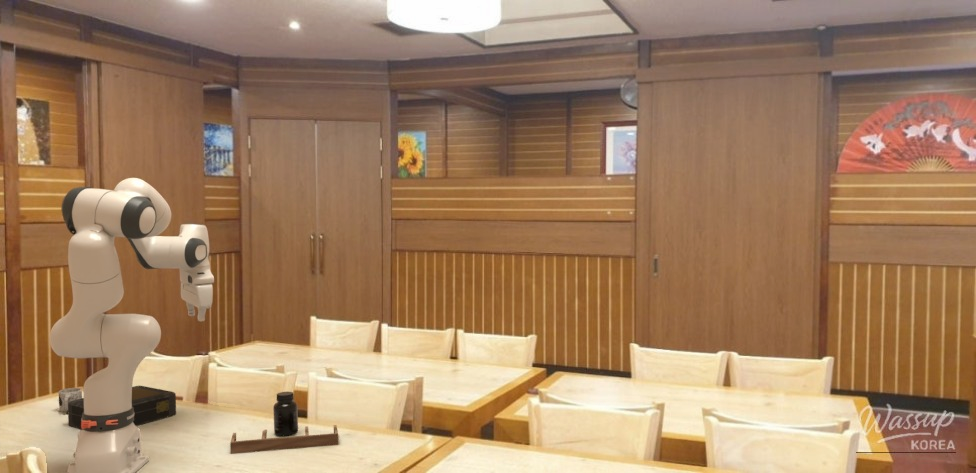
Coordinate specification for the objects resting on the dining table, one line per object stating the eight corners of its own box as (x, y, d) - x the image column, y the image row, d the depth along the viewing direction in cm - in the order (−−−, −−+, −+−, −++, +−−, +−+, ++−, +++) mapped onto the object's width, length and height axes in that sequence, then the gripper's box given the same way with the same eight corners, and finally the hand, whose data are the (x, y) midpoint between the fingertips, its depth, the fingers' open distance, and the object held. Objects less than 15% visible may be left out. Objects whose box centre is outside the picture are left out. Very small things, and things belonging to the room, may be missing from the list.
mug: (62, 408, 245) (61, 388, 245) (84, 406, 247) (83, 387, 247) (54, 416, 235) (53, 395, 235) (77, 414, 237) (76, 394, 237)
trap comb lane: (338, 444, 206) (338, 434, 206) (230, 453, 199) (230, 442, 199) (334, 425, 224) (334, 416, 224) (235, 433, 217) (235, 423, 216)
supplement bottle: (288, 428, 221) (288, 389, 221) (302, 433, 217) (302, 392, 216) (269, 434, 216) (268, 393, 215) (283, 438, 211) (282, 397, 211)
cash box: (139, 407, 247) (138, 384, 247) (178, 415, 237) (177, 391, 237) (64, 426, 226) (64, 401, 226) (104, 436, 216) (103, 410, 215)
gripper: (174, 271, 235) (176, 313, 237) (194, 279, 219) (196, 325, 221) (195, 269, 239) (196, 311, 241) (216, 278, 223) (217, 322, 225)
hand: (196, 318), depth 231 cm, fingers open, 8 cm apart
